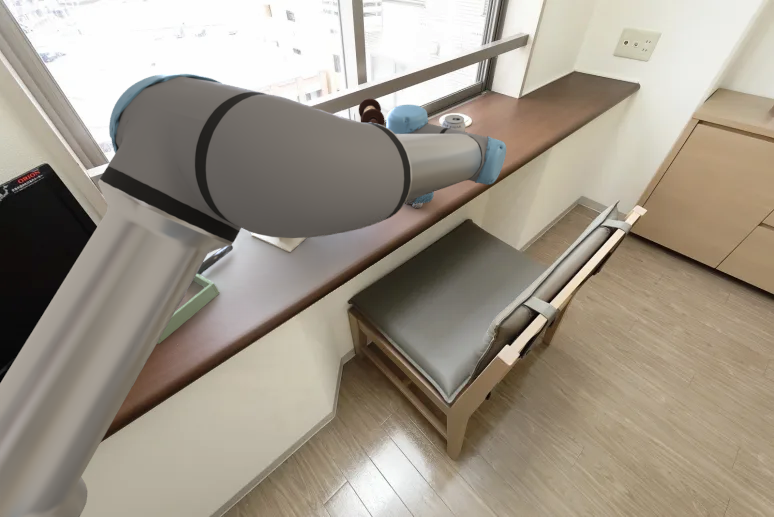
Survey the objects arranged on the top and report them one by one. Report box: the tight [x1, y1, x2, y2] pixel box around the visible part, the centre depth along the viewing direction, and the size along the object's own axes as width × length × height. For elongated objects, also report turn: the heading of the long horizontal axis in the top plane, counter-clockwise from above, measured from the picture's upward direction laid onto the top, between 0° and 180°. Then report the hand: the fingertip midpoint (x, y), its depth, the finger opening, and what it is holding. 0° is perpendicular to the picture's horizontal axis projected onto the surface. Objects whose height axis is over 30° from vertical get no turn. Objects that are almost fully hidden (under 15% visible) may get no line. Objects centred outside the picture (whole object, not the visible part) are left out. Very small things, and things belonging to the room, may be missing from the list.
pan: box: [157, 244, 234, 345], centre depth 67 cm, size 23×13×3 cm, turn 149°
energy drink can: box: [441, 114, 467, 132], centre depth 90 cm, size 6×6×15 cm
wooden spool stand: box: [358, 97, 386, 126], centre depth 88 cm, size 15×15×20 cm
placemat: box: [250, 232, 308, 253], centre depth 80 cm, size 12×12×1 cm
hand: (253, 188), depth 72 cm, fingers open, 7 cm apart
